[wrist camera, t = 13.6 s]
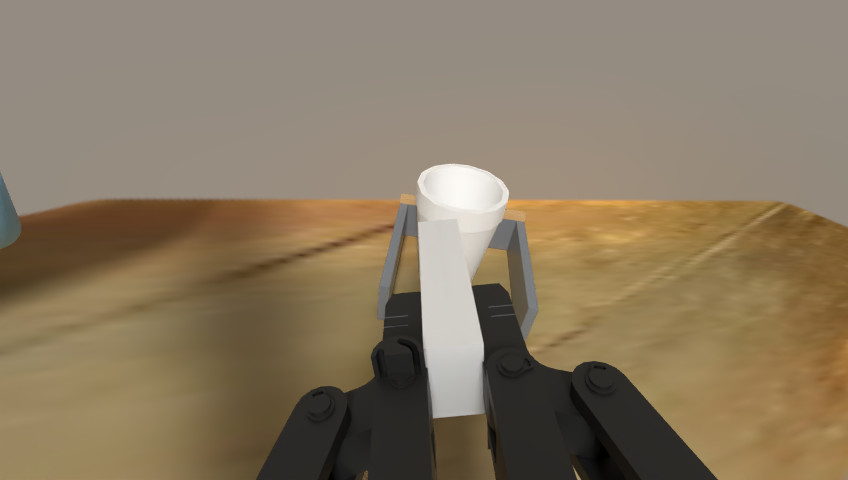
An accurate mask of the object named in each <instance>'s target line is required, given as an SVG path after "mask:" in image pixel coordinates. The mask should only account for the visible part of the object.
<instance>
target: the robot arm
mask: <svg viewBox="0 0 848 480" xmlns="http://www.w3.org/2000/svg"><path fill="white" fill-rule="evenodd" d="M418 233H419V256H420V280H421V292H411V293H400V294H392V296H391V297H390V299H389V300H388V302H387V303H386V305H385V319H384V332H383V341H381V342H379V344H378V345H377V346H376V347H375V348H374V349H373V352H372V355H371V360H372V365H373V369H374V374H375V377H374V378H373V379H372V380H371V381H370V382H368V383H367V384H366V385H364V386H361V387H359V388H357V389H354V390H352V391H349V392H346V393H343V392H342V391H341V390H340V389H339V388H335V387H332V386H325V387H319V388H316V389H314V390H311V391H310V392H308V393H307V394H306V395H304V396H303V397H302V398H301V399H300V401H299V402H298V403H297V404H296V406H295V408H294V410H293V412H292V414H291V415H290V417H289V419H288V421H287V423H286V425H285V427H284V428H283V430H282V432H281V434H280V436H279V438H278V440H277V441H276V443H275V445H274V447H273V449H272V451H271V453H270V455H269V456H268V458H267V460H266V462H265V464H264V466H263V468H262V469H261V471H260V473H259V475H258V477H257V479H256V480H362V478H363V475H364V471H366V470H368V469H369V470H368V480H437V465H436V449H435V435H434V427H433V418H441V417H452V416H464V415H475V414H485V410H486V415H487V426H488V449H491V454H492V460H493V466H494V471H495V477H496V480H577V478H576V475H575V472H574V469H573V467H574V468H575V470H576V472H577V473H578V475H579V477H580V478H581V480H718V479H717V478H716V477H715V476H714V475H713V474H712V473H711V472H710V470H709V469H708V468H707V467H706V466H705V465H704V464H703V463H702V461H701V460H700V459H699V458H698V457H697V456H696V455H695V454H694V452H693V451H692V450H691V449H690V448H689V447H688V446H687V445H686V443H685V442H684V441H683V440H682V439H681V438H680V437H679V436H678V434H677V433H676V432H675V431H674V430H673V429H672V428H671V427H670V425H669V424H668V423H667V422H666V421H665V420H664V419H663V418H662V417H661V415H660V414H659V413H658V412H657V411H656V410H655V409H654V408H653V406H652V405H651V404H650V403H649V402H648V401H647V400H646V399H645V397H644V396H643V395H642V394H641V393H640V392H639V391H638V390H637V388H636V387H635V386H634V385H633V384H632V383H631V382H630V381H629V379H628V378H627V377H626V376H625V375H624V374H623V373H622V372H620V371H619V370H618V369H617V368H615V367H613V366H611V365H609V364H606V363H602V362H596V361H592V362H584V363H582V364H580V365H578V366H577V367H576V368H575V369H574V371H573V372H568V371H563V370H557V369H553V368H549V367H546V366H544V365H542V364H540V363H539V362H537V361H536V360H535V359H534V358H533V357H532V356H531V355H530V354H529V352H528V350H527V347H526V344H525V341H524V338H523V335H522V332H521V329H520V326H519V323H518V320H517V317H516V315H515V311H514V308H513V306H512V302H511V299H510V296H509V293H508V292H507V291H506V290H505V289H504V288H503V287H502V286H501V285H500V284H499V283H497V284H486V285H475V286H471V282H470V277H469V273H468V268H467V263H466V258H465V254H464V249H463V244H462V240H461V235H460V230H459V226H458V221H457V219H447V220H437V221H426V222H418ZM20 234H21V223H20V220H19V218H18V215H17V213H16V210H15V208H14V206H13V203H12V200H11V198H10V196H9V193H8V190H7V188H6V185H5V183H4V180H3V178H2V176H1V173H0V249H2V248H5V247H8V246H10V245H11V244H13V243H14V242H15V241H16V240H17V239H18V238H19V236H20ZM572 465H573V466H572Z"/></svg>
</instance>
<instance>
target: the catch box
mask: <svg viewBox="0 0 848 480" xmlns="http://www.w3.org/2000/svg"><path fill="white" fill-rule="evenodd" d="M525 218H526V214H525V212H521V211H514V210H507V209H505V212H504V216H503V219H502V222H500V223H499V224H498V226H497V228H496V230H495V233H494V235H493V237H492V239H491V241H490V243H489V246H488V247H489V248H496V249H502V250H507V255H508V265H509V275H510V285H511V295H512V305H513V308H514V311H515V315H516V317H517V320H518V323H519V326H520V329H521V332H522V335H523V338H524V341H525V340H526V338H527V335H528V333H529V331H530V329H531V326H532V324H533V322H534V319H535V317H536V315H537V312H538V310H539V309H538V303H537V297H536V291H535V285H534V279H533V272H532V266H531V260H530V254H529V248H528V242H527V236H526V229H525V223H524V221H525ZM404 235H409V236H416V237H418V227H417V206H416V203H415V196H413V195H407V194H402V195H401V200H400V206H399V210H398V214H397V218H396V222H395V226H394V230H393V234H392V238H391V242H390V246H389V250H388V254H387V258H386V262H385V266H384V270H383V274H382V278H381V282H380V286H379V300H378V314H377V319H382V320H384V319H385V305H386V303H387V302H388V300H389V299H390V297H391V296H392V292H393V287H394V282H395V278H396V273H397V268H398V263H399V259H400V254H401V249H402V245H403V240H404Z"/></svg>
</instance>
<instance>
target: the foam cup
mask: <svg viewBox="0 0 848 480" xmlns="http://www.w3.org/2000/svg"><path fill="white" fill-rule="evenodd" d="M508 195H509V191H508V189H507V188H506V186H505V185H504V183H503V182H502V181H501V180H500V179H498V178H497V177H495V176H494V175H492V174H491V173H489V172H487V171H484V170H481V169H478V168H476V167H473V166H468V165H459V164H446V165H437V166H433V167H431V168H429V169H427V170H425V171H423V172H422V174H421V176H420V178H419V179H418V181H417V188H416V196H415V203H416V206H417V227H418V222H426V221H437V220H447V219H457V221H458V226H459V230H460V235H461V240H462V244H463V249H464V254H465V258H466V263H467V268H468V273H469V277H470V282H472V280H473V278H474V276H475V274H476V271H477V269H478V267H479V265H480V263H481V261H482V259H483V256H484V254H485V252H486V250H487V248H488V246H489V243H490V241H491V239H492V237H493V235H494V233H495V230H496V228H497V226H498V224H499V223H500V222H502V219H503V216H504V212H505V209H506V205H507V201H508ZM418 265H419V277H420V256H419V233H418ZM420 281H421V280H420Z"/></svg>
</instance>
